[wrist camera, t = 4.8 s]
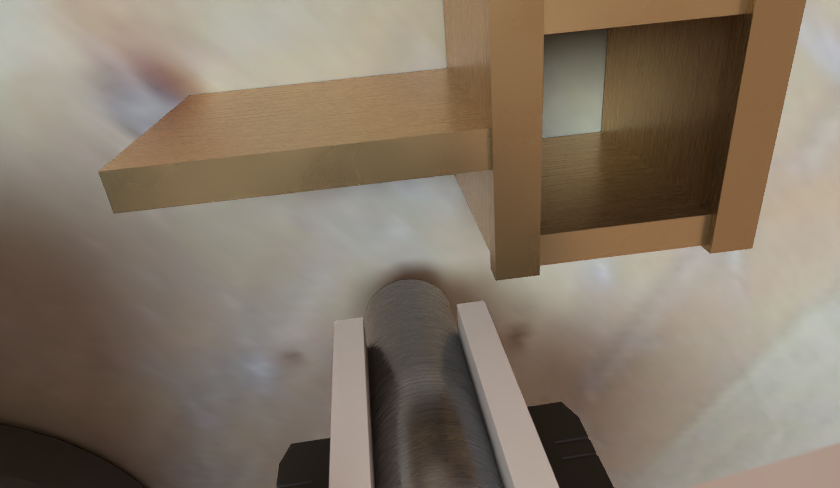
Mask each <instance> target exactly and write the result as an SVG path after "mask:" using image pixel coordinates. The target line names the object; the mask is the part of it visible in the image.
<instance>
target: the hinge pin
mask: <svg viewBox="0 0 840 488" xmlns="http://www.w3.org/2000/svg"><path fill="white" fill-rule="evenodd" d="M365 325H366V342H367V348H368V366H369V384H370V402H371V419H372V437H373V455H374V473H375V488H504V486H503V483H502V480H501V476H500V473H499V470H498V466H497V463H496V459H495V456H494V453H493V449H492V446H491V443H490V439H489V436H488V432H487V429H486V426H485V422H484V419H483V416H482V412H481V409H480V406H479V402H478V399H477V395H476V392H475V389H474V385H473V382H472V379H471V375H470V372H469V368H468V365H467V362H466V358H465V355H464V352H463V348H462V345H461V342H460V338H459V335H458V331H457V328H456V324H455V321H454V318H453V314H452V311H451V307H450V304H449V301H448V299H447V297H446V296H445V294H444V293H443V292H442V291H441V290H440V289H439V288H437V287H436V286H434V285H433V284H431V283H428V282H426V281H422V280H416V279H406V280H400V281H396V282H393V283H391V284H388V285H386V286H385V287H383V288H382V289H380V290H379V291H378V292H377V293H376V294H375V295H374V296H373V297H372V298H371V300H370V302H369V303H368V306H367V309H366V313H365Z"/></svg>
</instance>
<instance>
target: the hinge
mask: <svg viewBox="0 0 840 488" xmlns="http://www.w3.org/2000/svg"><path fill="white" fill-rule="evenodd" d="M805 3H806V0H443V6H444V23H445V39H446V56H447V68H445V69H436V70H426V71H417V72H407V73H398V74H388V75H379V76H369V77H360V78H350V79H341V80H331V81H322V82H312V83H303V84H293V85H284V86H275V87H265V88H256V89H246V90H237V91H227V92H218V93H208V94H199V95H189V96H188V97H187V98H186V99H184V100H183V101H182V102H181V103H180V104H178V105H177V106H176V107H175V108H174V109H172V110H171V111H170V112H169V113H168V114H166V115H165V116H164V117H163V118H162V119H161V120H159V121H158V122H157V123H156V124H155V125H153V126H152V127H151V128H150V129H149V130H147V131H146V132H145V133H144V134H143V135H141V136H140V137H139V138H138V139H137V140H135V141H134V142H133V143H132V144H131V145H130V146H128V147H127V148H126V149H125V150H124V151H122V152H121V153H120V154H119V155H118V156H116V157H115V158H114V159H113V160H112V161H110V162H109V163H108V164H107V165H106V166H104V167H103V168H102V169H101V170H100V171H98V172H99V175H100V177H101V180H102V183H103V186H104V188H105V191H106V194H107V196H108V199H109V202H110V204H111V207H112V210H113V213H122V212H131V211H139V210H148V209H157V208H165V207H174V206H183V205H191V204H200V203H209V202H217V201H226V200H235V199H243V198H252V197H261V196H269V195H278V194H287V193H295V192H304V191H313V190H321V189H330V188H339V187H347V186H356V185H365V184H373V183H382V182H391V181H399V180H408V179H417V178H425V177H434V176H443V175H451V174H455V176H456V178H457V181H458V183H459V185H460V187H461V189H462V192H463V194H464V196H465V198H466V200H467V203H468V205H469V207H470V209H471V211H472V214H473V216H474V218H475V220H476V222H477V225H478V227H479V229H480V231H481V233H482V236H483V238H484V240H485V242H486V244H487V247H488V249H489V251H490V263H491V270H492V273H493V275H494V277H495V280H504V279H512V278H520V277H528V276H536V275H540V265H548V264H556V263H564V262H572V261H580V260H588V259H596V258H604V257H612V256H620V255H628V254H636V253H644V252H652V251H660V250H668V249H676V248H684V247H692V246H700V245H701V246H702V247H703V248H704V249H706V250H707V251H708V252H709V253H718V252H726V251H734V250H742V249H750V248H752V247H753V242H754V238H755V233H756V228H757V224H758V219H759V215H760V210H761V206H762V201H763V196H764V192H765V187H766V183H767V178H768V173H769V169H770V164H771V160H772V155H773V150H774V146H775V141H776V137H777V132H778V127H779V123H780V118H781V114H782V109H783V104H784V100H785V95H786V91H787V86H788V81H789V77H790V72H791V68H792V63H793V58H794V54H795V49H796V45H797V40H798V35H799V31H800V26H801V22H802V17H803V12H804V8H805ZM603 28H608V40H607V55H606V70H605V84H604V99H603V114H602V128H601V132H596V133H587V134H578V135H569V136H560V137H552V138H543V139H542V110H543V56H544V34H554V33H564V32H574V31H583V30H593V29H603Z"/></svg>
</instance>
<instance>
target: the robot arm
mask: <svg viewBox="0 0 840 488" xmlns="http://www.w3.org/2000/svg"><path fill="white" fill-rule="evenodd" d="M457 319H458V335H459V338H460V342H461V345H462V348H463V352H464V355H465V358H466V362H467V365H468V368H469V372H470V375H471V379H472V382H473V385H474V389H475V392H476V395H477V399H478V402H479V406H480V409H481V412H482V416H483V419H484V422H485V426H486V429H487V432H488V436H489V439H490V443H491V446H492V449H493V453H494V456H495V459H496V463H497V466H498V470H499V473H500V476H501V480H502V483H503V486H504V488H614V487H613V485H612V483H611V481H610V479H609V477H608V475H607V473H606V471H605V469H604V467H603V465H602V463H601V461H600V459H599V457H598V456H597V455H596V451H595V449H594V447H593V445H592V443H591V441H590V440H589V439H588V435H587V433H586V431H585V429H584V427H583V425H582V423H581V421H580V419H579V417H578V416H577V415H575V414H574V413H573V412H572V411H571V410H570V409H569V408H568V407H566V406H565V405H564V404H563V403H562V402H557V403H551V404H544V405H537V406H531V407H527V406H526V403H525V401H524V398H523V396H522V393H521V391H520V388H519V386H518V383H517V381H516V378H515V376H514V373H513V371H512V368H511V366H510V363H509V361H508V358H507V356H506V353H505V351H504V348H503V346H502V343H501V341H500V338H499V336H498V333H497V331H496V328H495V326H494V323H493V321H492V318H491V316H490V313H489V311H488V308H487V306H486V303H485V301H484V300H483V301H476V302H469V303H461V304H457ZM0 488H144V487H143V486H142V485H141V484H139V483H138V482H137V481H136V480H134V479H133V478H131V477H130V476H129V475H127V474H126V473H124V472H123V471H121V470H120V469H118V468H117V467H115V466H113V465H112V464H110V463H108V462H106V461H104V460H103V459H101V458H99V457H97V456H95V455H93V454H91V453H89V452H87V451H85V450H82V449H80V448H78V447H75V446H73V445H70V444H68V443H65V442H62V441H60V440H57V439H54V438H51V437H48V436H45V435H41V434H38V433H35V432H31V431H27V430H23V429H19V428H15V427H10V426H5V425H0ZM277 488H375V473H374V455H373V437H372V419H371V402H370V384H369V366H368V348H367V342H366V335H365V329H364V323H363V317H359V318H352V319H344V320H337V321H334V340H333V372H332V405H331V437H330V438H327V439H320V440H313V441H307V442H300V443H293V444H291V445H290V447H289V449H288V450H287V452H286V454H285V455H284V457H283V459H282V460H281V462H280V464H279V471H278V479H277Z"/></svg>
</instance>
